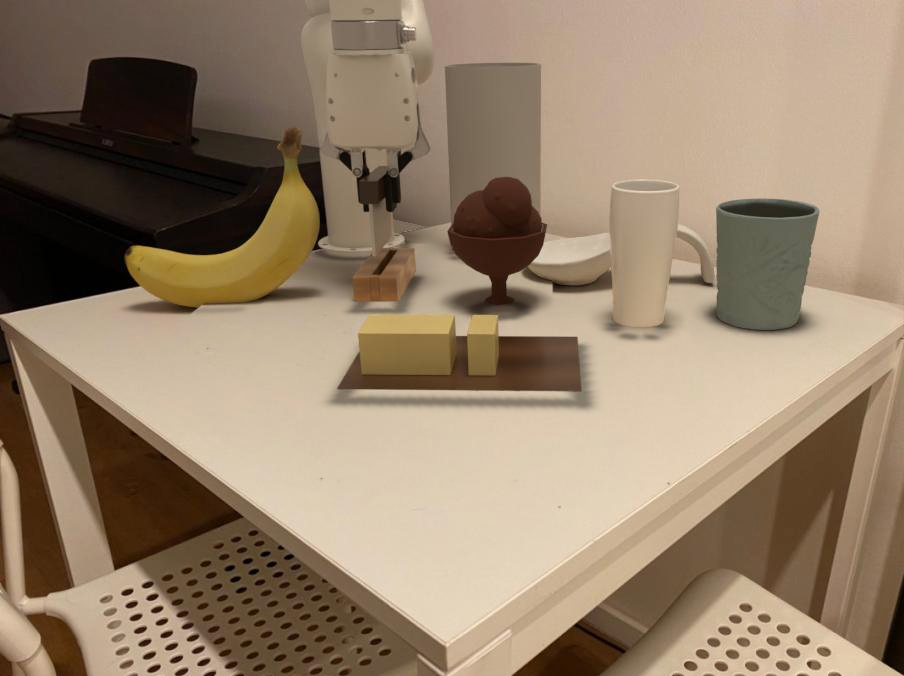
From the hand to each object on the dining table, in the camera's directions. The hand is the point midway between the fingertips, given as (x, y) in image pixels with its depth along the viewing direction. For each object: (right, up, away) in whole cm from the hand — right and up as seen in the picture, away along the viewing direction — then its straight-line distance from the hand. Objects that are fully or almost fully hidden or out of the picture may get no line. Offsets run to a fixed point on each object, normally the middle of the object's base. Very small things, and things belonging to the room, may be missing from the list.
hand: (380, 208), depth 94 cm
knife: (0, -4, +2) cm, 4 cm away
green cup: (+42, -13, -6) cm, 44 cm away
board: (+11, -19, -19) cm, 29 cm away
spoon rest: (+29, -8, +7) cm, 31 cm away
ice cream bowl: (+14, -12, -3) cm, 19 cm away
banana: (-18, -12, +1) cm, 21 cm away
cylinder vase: (+13, -2, +20) cm, 24 cm away
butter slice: (+13, -19, -21) cm, 31 cm away
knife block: (0, -10, +4) cm, 10 cm away
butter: (+6, -19, -20) cm, 28 cm away
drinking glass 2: (+29, -15, -9) cm, 33 cm away
